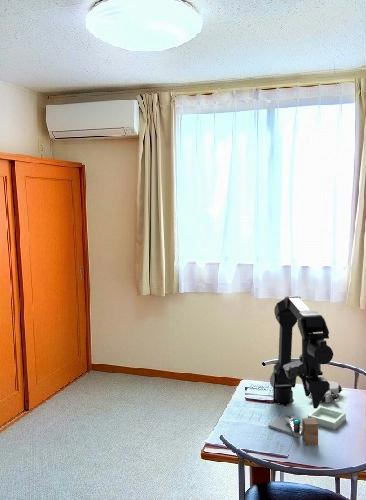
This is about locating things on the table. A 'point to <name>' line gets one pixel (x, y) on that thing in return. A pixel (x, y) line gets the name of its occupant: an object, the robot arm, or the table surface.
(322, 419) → the tray
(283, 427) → the crank base
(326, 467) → the table surface
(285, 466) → the table surface
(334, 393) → the robot toy
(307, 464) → the table surface
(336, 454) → the table surface
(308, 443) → the brown block
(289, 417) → the crank
